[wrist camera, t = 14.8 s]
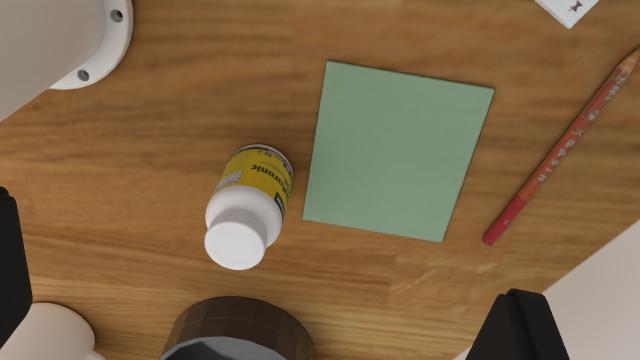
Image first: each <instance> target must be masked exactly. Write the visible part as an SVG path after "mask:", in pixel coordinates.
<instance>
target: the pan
mask: <svg viewBox="0 0 640 360" xmlns="http://www.w3.org/2000/svg"><path fill="white" fill-rule="evenodd" d="M159 360H315V351H314V346H313V342H312V340H311V338H310V336H309V334H308V333H307V331H306V330H305V328H304V327H303V326H302V325H301V324H300V323H299V322H298V321H297V320H296V319H295V318H293V317H292V316H291V315H289V314H288V313H286V312H285V311H283V310H281V309H279V308H277V307H275V306H273V305H271V304H268V303H265V302H262V301H259V300H255V299H250V298H244V297H217V298H212V299H207V300H204V301H201V302H199V303H196V304H194V305H192V306H191V307H189V308H188V309H186V310H185V311H184V312H183V313H182V314H181V315H180V316H179V317H178V318H177V320H176V322H175V324H174V326H173V328H172V330H171V332H170V334H169V336H168V339H167V341H166V343H165V346H164V348H163V351H162V353H161V355H160V358H159Z"/></svg>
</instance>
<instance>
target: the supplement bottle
mask: <svg viewBox="0 0 640 360" xmlns="http://www.w3.org/2000/svg"><path fill="white" fill-rule="evenodd" d="M292 182H293V172H292V168H291V165H290V163H289V162H288V160H287V159H286V157H285V156H284V155H283V154H282V153H280V152H279V151H278V150H276V149H274V148H272V147H270V146H266V145H260V144H254V145H249V146H245V147H243V148H241V149H239V150H238V151H237V152H235V153H234V154H233V156H232V157H231V158H230V160H229V162H228V164H227V166H226V168H225V170H224V172H223V174H222V176H221V178H220V180H219V183H218V185H217V187H216V189H215V191H214V193H213V195H212V197H211V199H210V201H209V204H208V206H207V209H206V215H205V219H206V225H207V228H208V231H207V233H206V236H205V248H206V251H207V253H208V254H209V256H210V257H211V258H212V259H213V260H214V261H215V262H216V263H218V264H219V265H221V266H223V267H226V268H229V269H234V270H244V269H248V268H251V267H253V266H255V265H256V264H258V263H259V262H260V261H261V259H262V258H263V255H264V252H265V249H266V248H267V247H268V246H270V245H271V244H272V243H273V242H274V241H275V240H276V239H277V237H278V235H279V233H280V230H281V227H282V224H283V220H284V215H285V211H286V207H287V203H288V199H289V195H290V191H291V187H292Z"/></svg>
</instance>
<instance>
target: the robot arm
mask: <svg viewBox="0 0 640 360" xmlns="http://www.w3.org/2000/svg"><path fill="white" fill-rule="evenodd" d="M119 11H120V12H121V13H122V15H123V16H121V15H120V14H119ZM132 30H133V7H132V2H131V0H0V122H1V121H3V120H4V119H5V118H7V117H8V116H10V115H11V114H12V113H14V112H15V111H17V110H18V109H20V108H21V107H22V106H24V105H25V104H27V103H28V102H29V101H31V100H32V99H34V98H35V97H36V96H38V95H39V94H41V93H42V92H44V91H45V90H46V89H48V88H50V89H62V90H67V89H76V88H82V87H85V86H88V85H91V84H94V83H95V82H97V81H99V80H100V79H102V78H103V77H105V76H106V75H107V74H109V73H110V72H111V71H112V70H113V69H114V68H116V66H117V65H118V64H119V62H120V61H121V60H122V58H123V57H124V55H125V53H126V51H127V48H128V46H129V44H130V40H131V35H132ZM32 300H33V297H32V290H31V284H30V278H29V273H28V267H27V261H26V255H25V250H24V244H23V238H22V232H21V227H20V221H19V215H18V209H17V204H16V200H15V199H14V198H13V197H11V196H9V193H8V191H7V190H6V189H5V188H4V187H1V186H0V350H1V348H2V347H3V346H4V344H5V343H6V342H7V340H8V339H9V338H10V337H11V335H12V334H13V333H14V331H15V330H16V329H17V327H18V326H19V325H20V323H21V322H22V321H23V320H24V318H25V317H26V316H27V314H28V312H29V310H30V308H31V305H32ZM465 360H570V359H569V356H568V354H567V351H566V348H565V346H564V343H563V341H562V338H561V336H560V333H559V331H558V328H557V325H556V322H555V320H554V317H553V315H552V312H551V310H550V307H549V305H548V302H547V300H546V298H545V296H544V295H542V294H539V293H534V292H529V291H524V290H519V289H510V290H509V291H508V292H507V294H506V295H505V294H499V295H498V296H497V298H496V300H495V302H494V304H493V306H492V308H491V310H490V312H489V314H488V316H487V318H486V320H485V322H484V323H483V325H482V327H481V329H480V331H479V333H478V335H477V337H476V339H475V341H474V343H473V345H472V347H471V349H470V351H469V353H468V355H467V357H466V359H465Z"/></svg>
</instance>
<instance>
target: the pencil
mask: <svg viewBox="0 0 640 360" xmlns="http://www.w3.org/2000/svg"><path fill="white" fill-rule="evenodd" d="M639 58H640V46H639V47H638V48H637V49H636V50H635V51H633V52H632V53H631V54H630V55H629V56H628V57H627V58H625V59H624V60H623V61H622V62H621V63H620V64H619V65H618V66H617V67H616V69H615V70H614V71H613V73H612V74H611V75H610V76H609V78H608V79H607V80H606V81H605V83H604V84H603V85H602V87H601V88H600V89H599V90H598V92H597V93H596V94H595V96H594V97H593V98H592V99H591V101H590V102H589V103H588V104H587V106H586V107H585V108H584V110H583V111H582V112H581V113H580V115H579V116H578V117H577V118H576V120H575V121H574V122H573V124H572V125H571V126H570V127H569V129H568V130H567V131H566V132H565V134H564V135H563V136H562V138H561V139H560V140H559V141H558V143H557V144H556V145H555V147H554V148H553V149H552V150H551V152H550V153H549V154H548V155H547V157H546V158H545V159H544V161H543V162H542V163H541V164H540V166H539V167H538V168H537V169H536V171H535V172H534V173H533V175H532V176H531V177H530V178H529V180H528V181H527V182H526V184H525V185H524V186H523V187H522V189H521V190H520V191H519V192H518V194H517V195H516V196H515V198H514V199H513V200H512V201H511V203H510V204H509V205H508V206H507V208H506V209H505V210H504V212H503V213H502V214H501V215H500V217H499V218H498V219H497V221H496V222H495V223H494V224H493V226H492V227H491V228H490V229H489V231H488V232H487V233H486V235H485V236H484V237H483V238H482V241H483V242H484V243H485V244H486V245H488V246H492V245H493V243H494V242H495V241H496V240H497V238H498V237H499V236H500V235H501V234H502V232H503V231H504V230H505V229H506V227H507V226H508V225H509V224H510V222H511V221H512V220H513V219H514V217H515V216H516V215H517V214H518V213H519V211H520V210H521V209H522V208H523V206H524V205H525V204H526V203H527V201H528V200H529V199H530V198H531V197H532V195H533V194H534V193H535V192H536V190H537V189H538V188H539V187H540V185H541V184H542V183H543V182H544V180H545V179H546V178H547V177H548V176H549V174H550V173H551V172H552V171H553V169H554V168H555V167H556V166H557V164H558V163H559V162H560V161H561V159H562V158H563V157H564V156H565V155H566V153H567V152H568V151H569V150H570V148H571V147H572V146H573V145H574V143H575V142H576V141H577V140H578V138H579V137H580V136H581V135H582V134H583V132H584V131H585V130H586V129H587V127H588V126H589V125H590V124H591V122H592V121H593V120H594V119H595V118H596V116H597V115H598V114H599V113H600V111H601V110H602V109H603V108H604V106H605V105H606V104H607V103H608V101H609V100H610V99H611V98H612V97H613V95H614V94H615V93H616V92H617V90H618V89H619V88H620V87H621V85H622V84H623V83H624V82H625V80H626V79H627V78H628V77H629V75H630V74H631V72H632V70H633V68H634V67H635V65H636V63H637V61H638V59H639Z"/></svg>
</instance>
